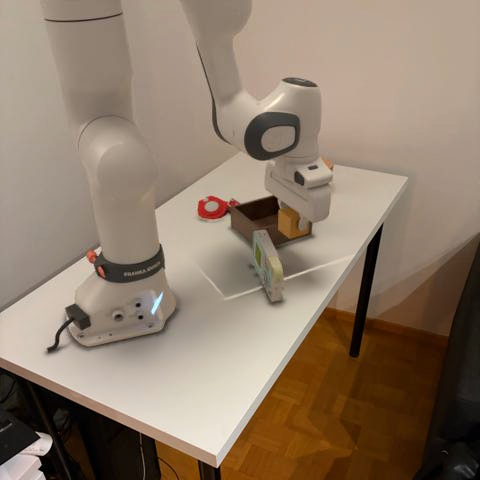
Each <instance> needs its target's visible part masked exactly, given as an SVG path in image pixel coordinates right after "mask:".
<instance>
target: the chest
mask: <svg viewBox="0 0 480 480" xmlns="http://www.w3.org/2000/svg"><path fill="white" fill-rule="evenodd" d="M288 207H289V206H288ZM229 210H230V226H231V227H232V228H233V229H234V230H235V231H237V233H239V235H241V236H242V237H243V238H244V239H245V240H246V241H247V242H249V243H250V244H251V245H252V246H253V233H254V231H258V230H266V231H267V233H268V235H269V237H270V239H271V241H272V243H273V245H274V247H275V246H278V245H282V244H285V243H288V242H291V241H294V240H297V239H300V238H301V239H302V238H304V237H307V236H310V235H312V233H313V223H312V222H311V221H309V229H308V233H307V234H304V235H301V236H297V237H294V238H291V239H289V238H288V237H287V236H286V235H284V234H283V233H282V232H280V231H279V230H278V211H279V210H280V207H279V204H278V198H277V197H275V196H274V195H272V194H271V195H268V196H264V197H259V198H257V199H252V200H249V201H246V202H241V204H238V205H234V206H230V209H229Z"/></svg>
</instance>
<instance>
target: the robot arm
mask: <svg viewBox="0 0 480 480" xmlns="http://www.w3.org/2000/svg"><path fill="white" fill-rule="evenodd" d="M179 2H180V4H181V7H182V11H183V12H184V14H185V18H186V19H187V23H188V25H189V27H190V30H191V33H192V36H193V39H194V42H195V46H196V51H197V53H198V56H199V60H200V63H201V66H202V70H203V73H204V76H205V79H206V83H207V86H208V90H209V92H210V97H211V122H212V127H213V131H214V133H215V134H216V136H217V137H218V138H219V139H220V141H222V142H224V143H227V144H228V145H231V146H232V147H235V148H236V149H237V150H239V151H240V152H242V153H243V154H245V155H247V156H248V157H249V158H252V159H254V160H256V161H260V162H266V161H267V162H266V163H265V164H266V166H265V170H264V181H263V184H264V188H265V191H266V192H268V193H269V194H271V195H274V196H275V197H277V198H278V204H279V207H280V209H283V208H287V207H288V206H289V207H291V208H292V209H294V210H295V211H296V212H298V213H299V217H300V218H301V219H300V221H297V223H296V225H297V226H296V228H297V229H299V230H300V231H303V230H305V229H306V227H307V222H308V220H309V221H311V222H312V224H316V223H321V222H323V221H325V220H326V219H327V218H328V217H329V215H330V210H331V202H332V200H331V199H332V190H331V186H330V183H332V181H333V179H334V173H333V171H331V170H330V169H329V168H328V167H327V166H326V164H325V163H324V162H323V160H322V159H321V158H322V157H321V156H320V155H319V151H320V147H319V140H318V139H319V133H320V132H321V125H322V109H323V108H322V106H323V105H322V93H321V90H320V87H319V86H318V84H316V83H315V82H313V81H311V80H309V79H306V78H300V77H284V78H282V79H281V80H280V82H279V83H278V84H277V87H275V89H274V90H273V91H272V92H271V93H270V94H268V95H267V96H266V97H264V98H263V99H261V100H258V99H256V98H254V96H252V95H251V94H250V93H249V92H248V91H247V90H246V89H245V87H244V85H243V83H242V79H241V75H240V71H239V67H238V63H237V58H236V55H235V54H236V53H235V51H234V38H235V37H236V36H237V35H239V34H240V33H241V32H242V30H243V29H244V28H245V27H246V25H247V24H248V21H249V19H250V17H251V14H252V10H253V0H179ZM39 5H40V8H41V12H42V16H43V20H44V24H45V28H46V32H47V36H48V40H49V43H50V48H51V51H52V56H53V59H54V64H55V68H56V71H57V75H58V79H59V83H60V84H59V85H60V89H61V94H62V99H63V105H64V109H65V114H66V118H67V123H68V128H69V133H70V136H71V140H72V144H73V147H74V150H75V152H76V155H77V156H78V158H79V160H80V162H81V164H82V166H83V170H84V171H85V174H86V177H87V181H88V187H89V191H90V197H91V202H92V208H93V220H94V225H95V229H96V233H97V236H98V241H99V245H100V251H99V254H98V253H97V252H96V251H94V250H89V251H88V252H87V254H85V257H86V259H87V260H88V262H89V263H90V264H91V265H93V268H94V271H93V272H92V273H91V274H90V275H89V276H88V277H87V278H86V279H85V280H84V281H83V282H82V283H81V284H80V285H78V287H77V288H76V290H75V292H74V303H72V304H70V305H68V306H65V307H64V310H65V313H66V321H65V322H64V323H63V324H62V325H60V327H59V328H58V330H57V331H56V333H55V337H54V342H53V343H54V344H53V345H52V346H51V345H50V346H48V347H46V350H47V352H51V351H54V350H56V349H57V348H58V346H59V345H60V338H61V335H62V333H63V331H65V329H66V328H68V330H69V332H70V334H71V336H72V338H73V339H75V341H76V342H77V343H79V345H82V346H85V347H87V348H88V347H95V346H99V345H103V344H108V343H113V342H117V341H122V340H126V339H131V338H136V337H141V336H145V335H150V334H154V333H158V332H160V331H162V330H163V328H164V327H165V324H166V321H167V320H168V319H169V318H170V316H171V315H172V314H173V313H174V311H175V309H176V308H177V307H176V306H177V300H176V297H175V296H174V294H173V291H172V290H171V286H170V284H169V281H168V278H167V274H166V258H165V252H164V248H163V245H162V243H161V242H160V238H159V231H158V229H159V228H158V223H157V215H156V183H157V179H158V175H159V174H158V173H159V172H158V171H159V169H158V163H157V158H156V156H155V152H154V150H153V147H152V145H151V143H150V141H149V140H148V139H147V138H146V137H145V135H143V133H142V131H140V130H139V128H138V125H137V123H136V120H135V115H134V110H133V108H134V107H133V86H132V85H133V84H132V80H133V76H134V75H133V74H134V70H133V69H134V68H133V64H132V57H131V52H130V46H129V39H128V33H127V28H126V22H125V16H124V9H123V4H122V0H39ZM328 183H329V184H328Z"/></svg>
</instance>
